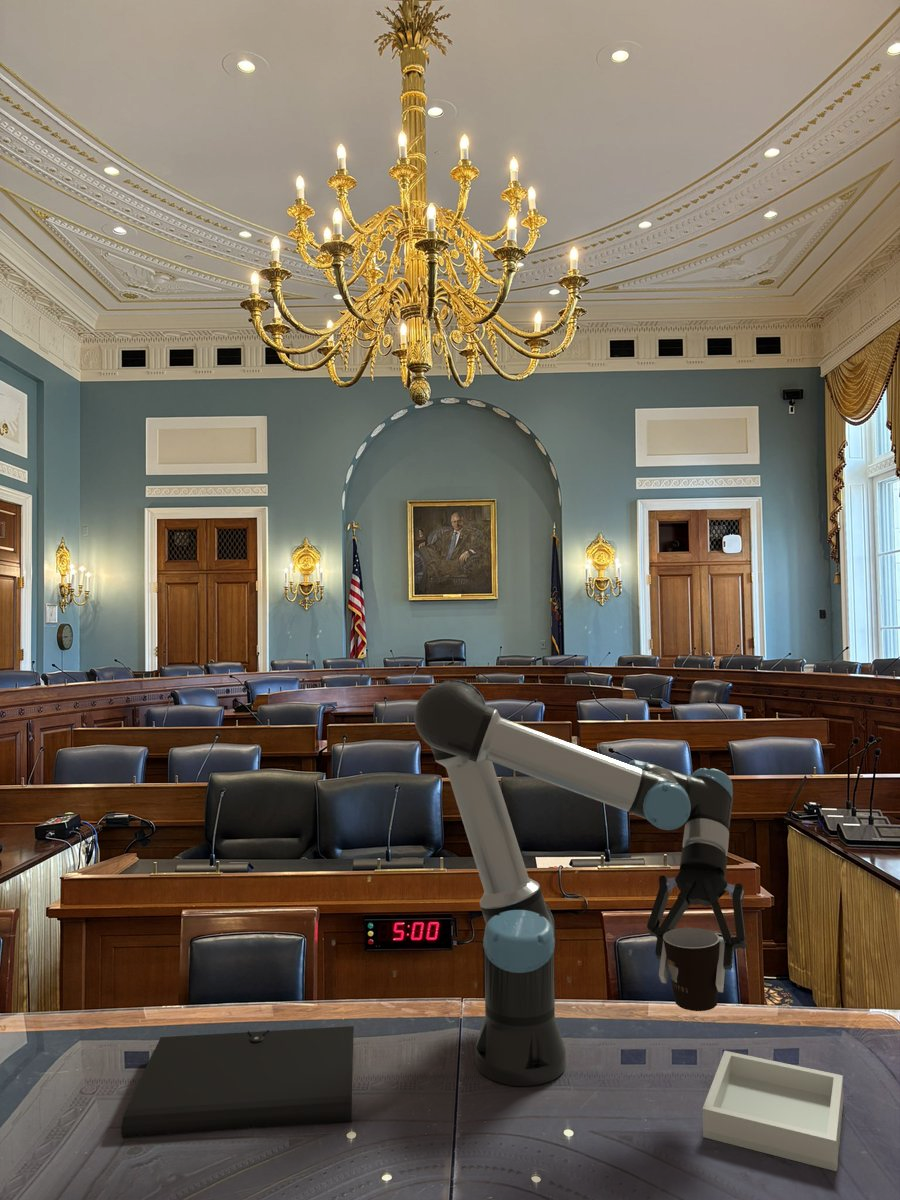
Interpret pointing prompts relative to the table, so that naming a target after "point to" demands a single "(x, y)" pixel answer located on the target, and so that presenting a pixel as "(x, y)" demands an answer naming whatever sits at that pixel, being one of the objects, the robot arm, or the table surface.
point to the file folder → (244, 1082)
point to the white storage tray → (776, 1109)
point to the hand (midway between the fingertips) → (690, 983)
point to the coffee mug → (693, 967)
